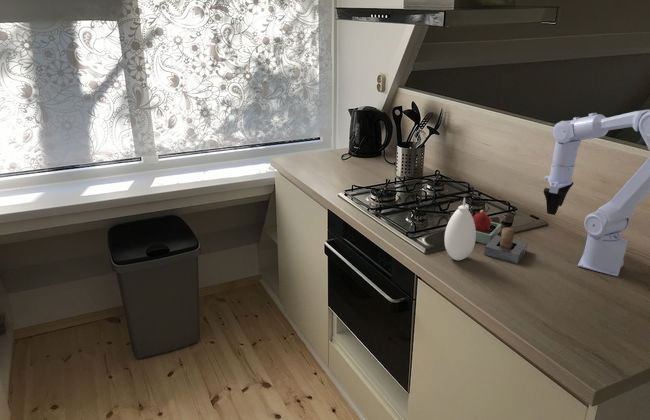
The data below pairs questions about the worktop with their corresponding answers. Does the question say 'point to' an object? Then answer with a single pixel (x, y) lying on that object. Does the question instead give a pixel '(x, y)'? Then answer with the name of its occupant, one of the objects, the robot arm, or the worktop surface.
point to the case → (488, 237)
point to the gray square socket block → (505, 250)
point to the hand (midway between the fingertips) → (554, 209)
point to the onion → (481, 222)
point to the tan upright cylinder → (507, 238)
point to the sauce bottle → (460, 233)
